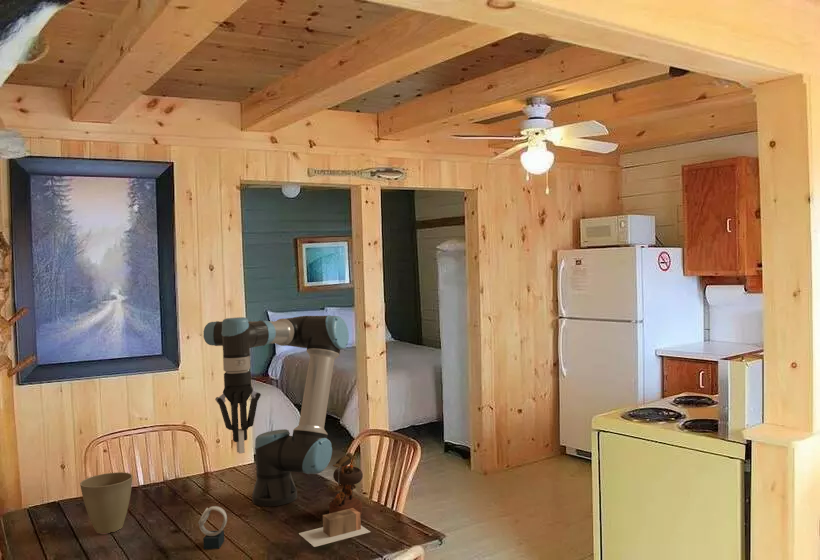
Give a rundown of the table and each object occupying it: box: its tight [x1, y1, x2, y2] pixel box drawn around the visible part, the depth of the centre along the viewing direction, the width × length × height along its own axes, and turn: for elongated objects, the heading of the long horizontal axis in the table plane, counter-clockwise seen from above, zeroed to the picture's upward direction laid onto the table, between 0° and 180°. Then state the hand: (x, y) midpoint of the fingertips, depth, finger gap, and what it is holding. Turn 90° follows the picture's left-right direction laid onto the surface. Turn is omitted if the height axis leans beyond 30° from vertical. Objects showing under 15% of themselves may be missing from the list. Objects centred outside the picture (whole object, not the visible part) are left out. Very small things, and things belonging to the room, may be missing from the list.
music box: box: [328, 452, 364, 517], centre depth 217 cm, size 15×11×20 cm
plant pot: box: [79, 471, 133, 533], centre depth 212 cm, size 15×15×16 cm
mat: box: [298, 524, 371, 548], centre depth 202 cm, size 12×18×1 cm, turn 121°
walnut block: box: [322, 508, 362, 537], centre depth 203 cm, size 5×5×10 cm
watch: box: [198, 505, 228, 550], centre depth 197 cm, size 6×8×11 cm
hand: (240, 452), depth 198 cm, fingers closed
